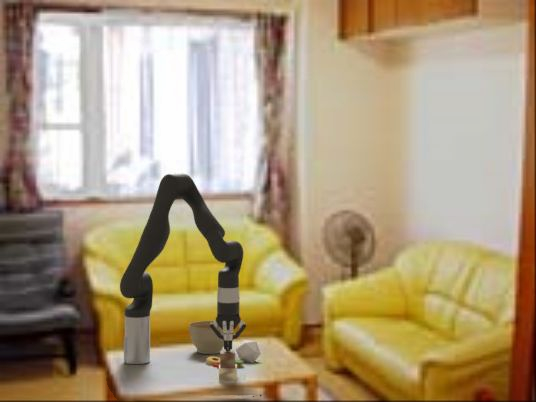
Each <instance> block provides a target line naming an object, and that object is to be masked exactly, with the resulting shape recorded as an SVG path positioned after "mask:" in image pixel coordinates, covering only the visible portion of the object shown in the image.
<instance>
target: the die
mask: <svg viewBox="0 0 536 402" xmlns="http://www.w3.org/2000/svg"><path fill="white" fill-rule="evenodd" d="M260 350H261V349H260V347H259V345H258V342H257V341H256V340H247V339H243V340H242V341H241V343H240V344H239V345H238V346H237V347H236V349H235V353H236V354H237V358H241V359H242V361H244V363H247V364H254V363H255V362H256V360H257V359H258V358H259V357H260V356H261V355H262V352H261V351H260Z"/></svg>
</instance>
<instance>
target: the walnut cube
mask: <svg viewBox="0 0 536 402" xmlns="http://www.w3.org/2000/svg"><path fill="white" fill-rule="evenodd" d="M219 358H220V368H235V358H236V349H232V350H230V351H226V350H224V349H222V350H221V351H220V353H219Z"/></svg>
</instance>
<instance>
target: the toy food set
mask: <svg viewBox="0 0 536 402" xmlns="http://www.w3.org/2000/svg"><path fill="white" fill-rule="evenodd" d="M205 363H206V364H207V365H208V366H209V367H211V366H212V367H213V368H217V369H218V370H219V364H220V356H219V357H217V356H208V357H206V359H205ZM244 363H245V362H244V361H242V359H241V358H239V357H235V364H237V369H238V368H241V367H244V365H245V364H244Z"/></svg>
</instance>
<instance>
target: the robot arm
mask: <svg viewBox="0 0 536 402" xmlns="http://www.w3.org/2000/svg"><path fill="white" fill-rule="evenodd" d="M176 200H183V201H184V202H185V203H186V204H187V205H188V206H189V207H190V209H191V212H192V215H193V221H194V224H195V225H196V228H197V229H198V232H199V233H200V234H201V235H202V236H203V238H204V239H205V240H206V242H207V245H208V246H209V249H210V252H211V254H212V256H213V257H214V259H215V260H216V261H217V262H219V263H221V264H224V263H225V264H224V268H222V269H220V270H219V271H218V273H217V274H218V275H217V294H216V300H217V301H216V303H217V304H216V305H217V306H216V309H217V310H216V311H217V312H216V318H215V320H213V321H214V322H213V323H210V327H211V329H212V330H213V331H214V332H215V334H216V335H217V336H218V337H219V338H220V339H223V340H224V347H223V350H226V351H230V350H233V340H235V339H238V338H239V337H240V336H241V334H242V333H243V331H245V329H246V328H247V323H245V322H244V321H243V320H242V318H241V316H240V298H241V297H240V282H239V281H240V278H239V277H240V271H241V269H242V265H243V264H242V263H243V259H244V249H243V246H242V244H241V243H240V242H239V241H237V240H228V241H227V240H226V241H225V240H224V237H225V235H226V231H225V228H224V227H223V226H222V225H221V223H220V222H219V221H218V220H217V218H216V216H214V215H213V213H212V212H211V210H210V209H209V207H208V206H207V203H206V201H205V200H204V198H203V196H202V194H201V192H200V191H199V189H198V187H197V185H196V183H195V181H194V180H193V179H192V177H191V176H190V175H189V174H187V173H184V172H183V173H182V172H180V173H178V172H177V173H176V172H175V173H167V174H165V175H164V176H163V177H162V178H161V180H160V183H159V185H158V187H157V192H156V196H155V199H154V202H153V205H152V207H151V211H150V212H149V213H150V214H149V215H148V219H147V221H146V223H145V226H144V229H143V231H142V232H141V233H142V234H141V236H140V238H139V241H138V244H137V246H136V249H135V251H134V253H133V255H132V257H131V260H130V262H129V263H128V265H127V267H126V269H125V270H124V273H123V274H122V276H121V279H120V283H119V291H120V294H121V295H122V297H124V298H126V299H132V301H131V303H129V305H127V306H126V307H125V309H124V337H123V364H128V365H129V364H130V365H143V364H147V363H149V362H151V311H152V307H153V296H154V295H153V294H154V292H153V291H154V284H153V278H152V276H151V274H150V273H148V272H147V271H146V270H147V269H148V267H149V266H150V265H151V264H152V263H153V262H154V260H156V259H157V258H158V257H159V256H160V255H161V254H162V252H163V251H164V249H165V247H166V244H167V243H168V240H169V237H170V234H171V225H170V219H169V215H170V211H171V208H172V207H173V204H174V202H175V201H176ZM217 324H218V325H219V326H220V328H221V329H222V330H223V334H224V335H222V334H221V333H220V331H219V330H218V329H217ZM237 327H239V328H238V329H237V331H235V333H234V330H236V328H237ZM227 330H229V337H227Z"/></svg>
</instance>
